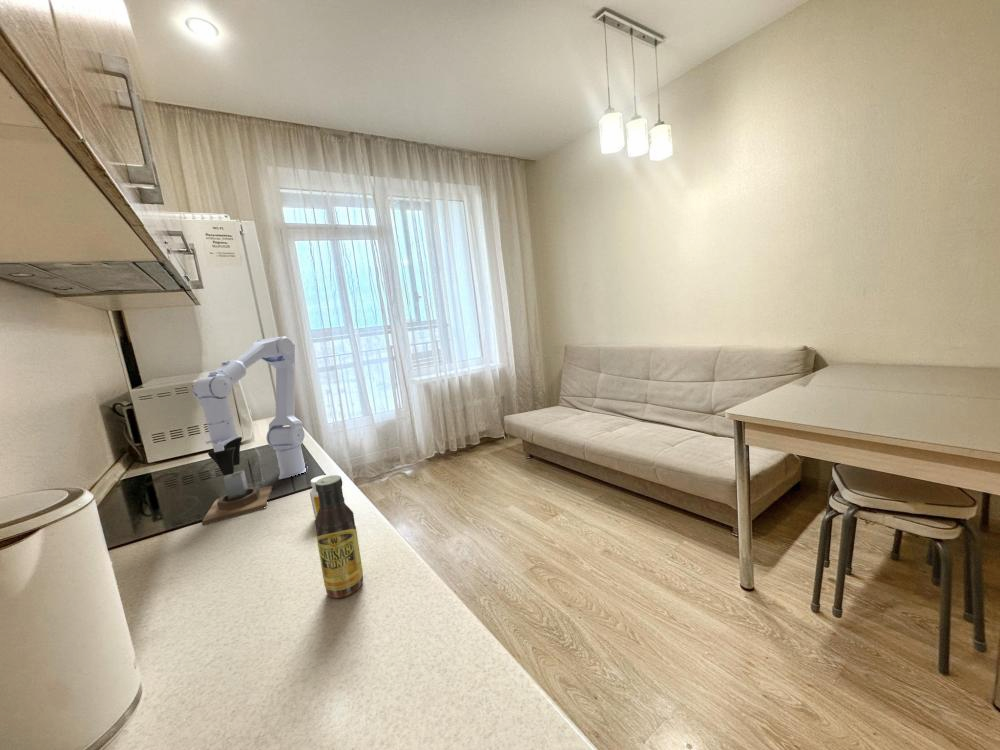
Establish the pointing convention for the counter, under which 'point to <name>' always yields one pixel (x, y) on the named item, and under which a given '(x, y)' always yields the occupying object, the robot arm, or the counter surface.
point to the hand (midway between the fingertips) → (232, 469)
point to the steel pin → (236, 485)
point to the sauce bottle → (337, 540)
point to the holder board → (238, 505)
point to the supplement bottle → (315, 495)
